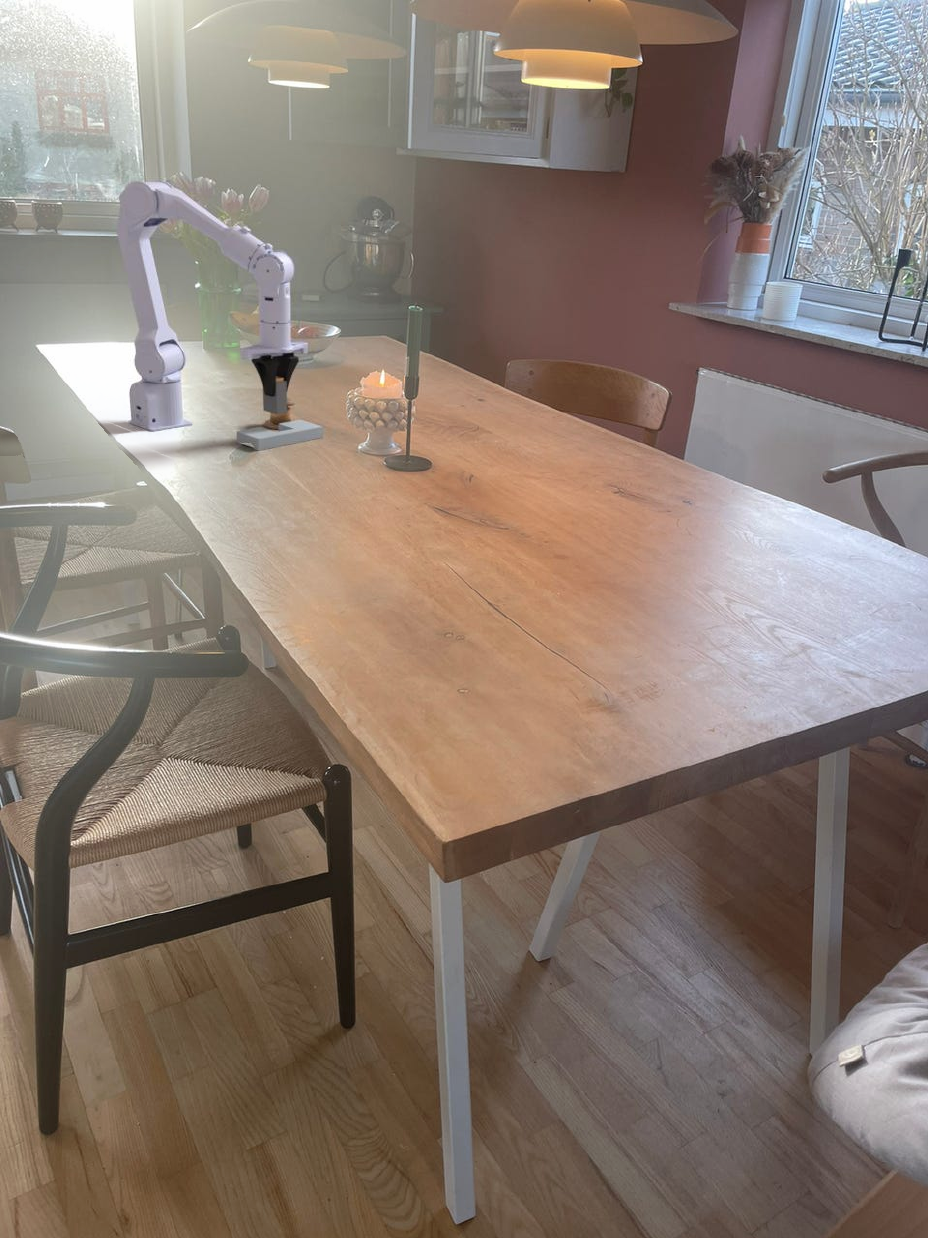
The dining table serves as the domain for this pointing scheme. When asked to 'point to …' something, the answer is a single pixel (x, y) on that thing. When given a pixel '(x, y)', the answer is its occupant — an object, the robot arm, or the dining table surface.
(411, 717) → the dining table surface
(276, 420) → the tan wooden yo-yo
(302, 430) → the board
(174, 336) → the robot arm
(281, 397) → the grey rectangular block
